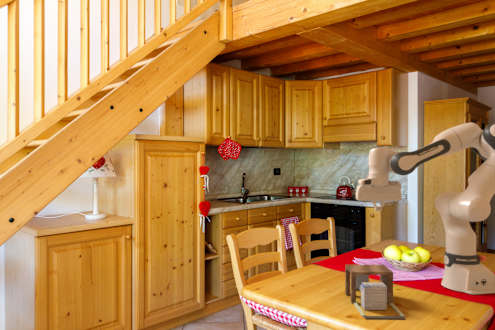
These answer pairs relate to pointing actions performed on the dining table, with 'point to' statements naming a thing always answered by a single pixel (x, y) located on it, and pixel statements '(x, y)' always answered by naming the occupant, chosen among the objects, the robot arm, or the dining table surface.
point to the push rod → (361, 280)
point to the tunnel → (381, 270)
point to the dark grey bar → (384, 317)
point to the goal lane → (390, 304)
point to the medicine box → (373, 296)
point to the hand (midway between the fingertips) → (378, 210)
